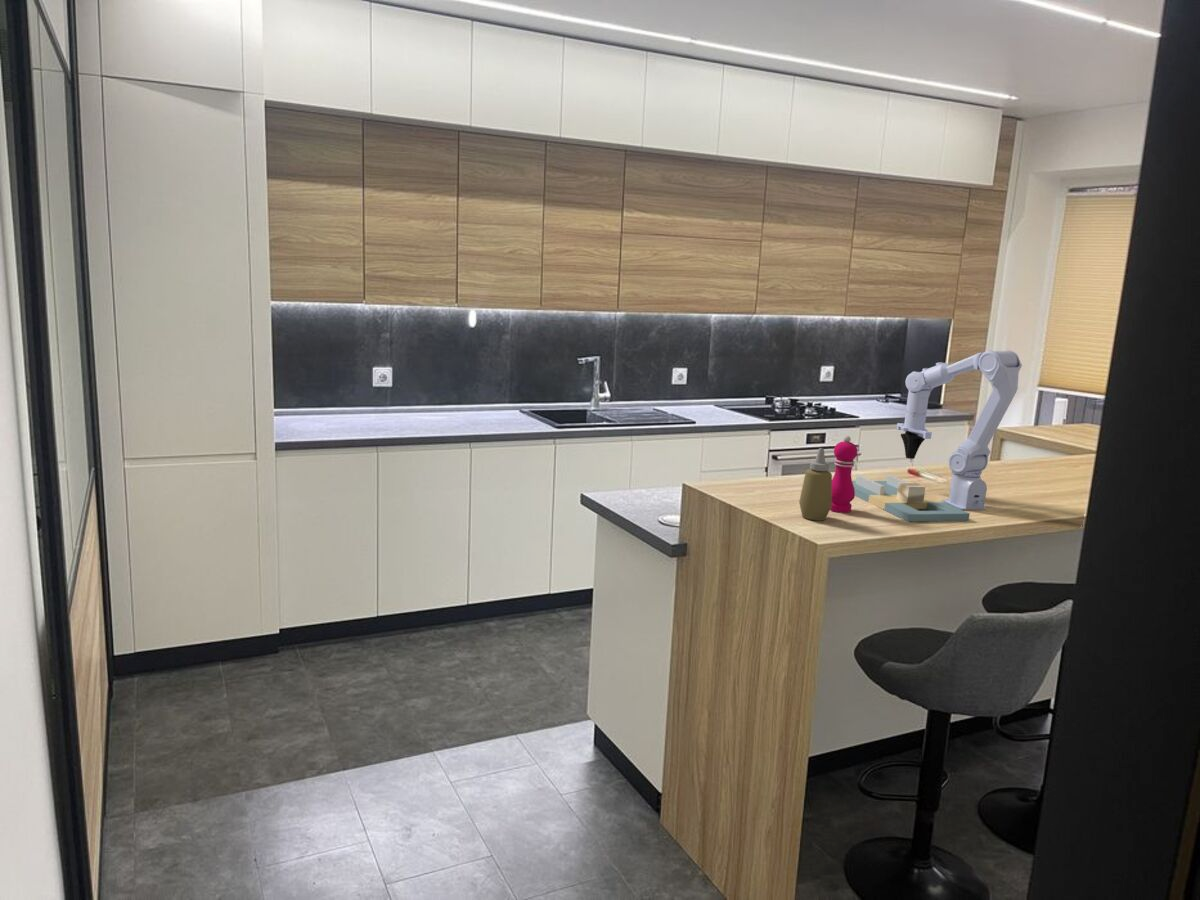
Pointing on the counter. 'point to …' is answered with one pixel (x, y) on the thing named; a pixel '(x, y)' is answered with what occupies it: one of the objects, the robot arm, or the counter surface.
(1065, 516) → the counter surface
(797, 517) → the counter surface
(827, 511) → the squeeze bottle
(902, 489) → the block
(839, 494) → the pepper mill
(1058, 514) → the counter surface
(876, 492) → the board
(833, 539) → the counter surface
